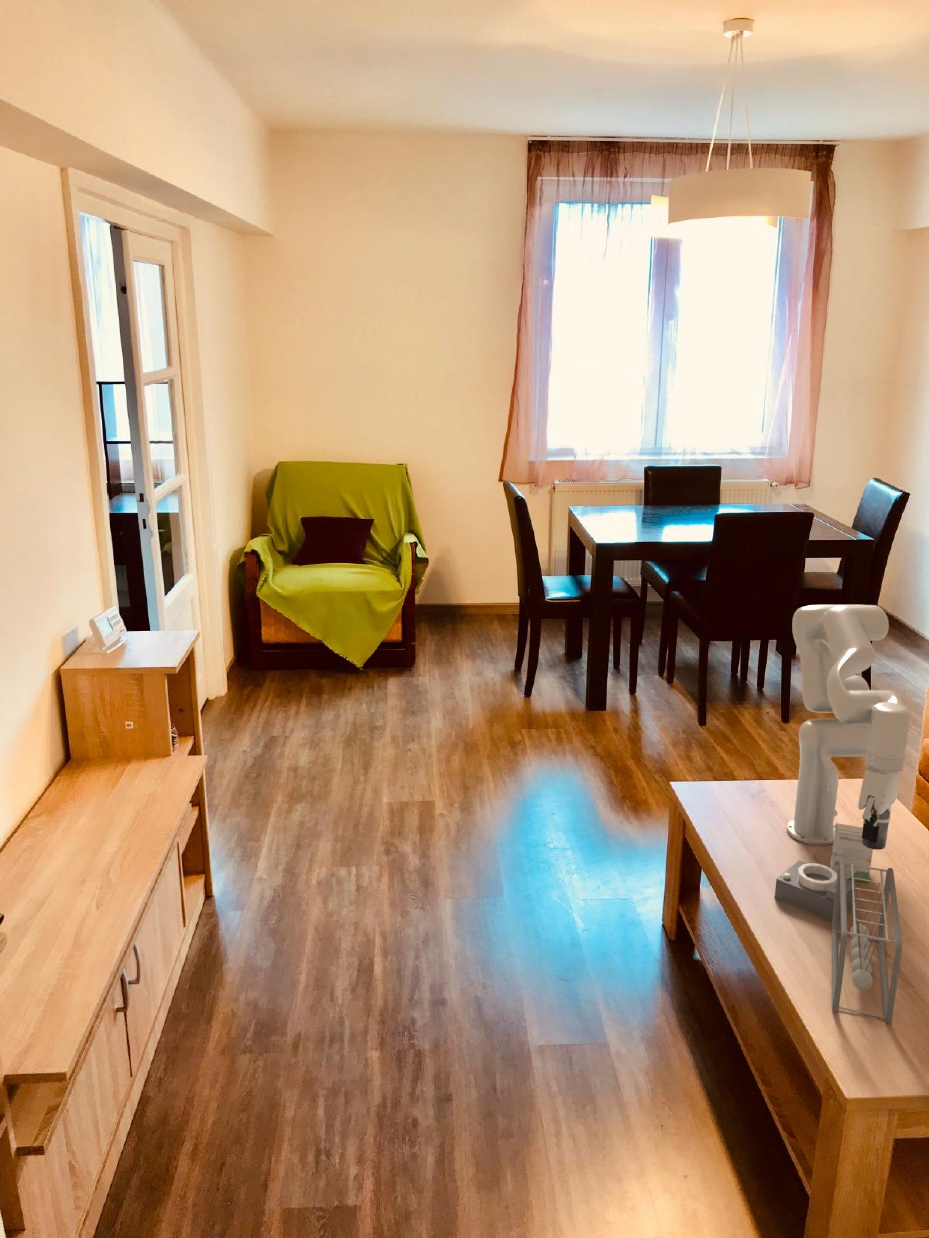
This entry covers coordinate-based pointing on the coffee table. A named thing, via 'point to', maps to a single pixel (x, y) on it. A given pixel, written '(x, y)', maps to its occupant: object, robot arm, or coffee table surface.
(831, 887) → the camera body
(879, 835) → the lens
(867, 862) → the ink box
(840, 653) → the robot arm
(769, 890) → the coffee table surface
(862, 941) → the newton's cradle
